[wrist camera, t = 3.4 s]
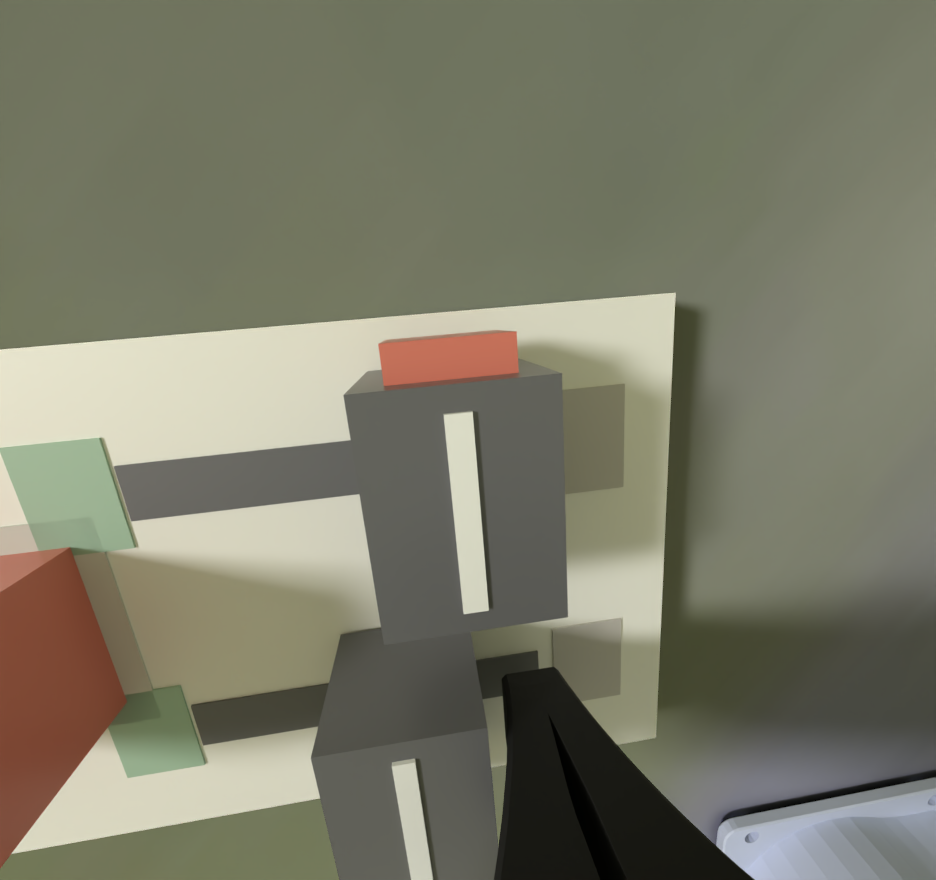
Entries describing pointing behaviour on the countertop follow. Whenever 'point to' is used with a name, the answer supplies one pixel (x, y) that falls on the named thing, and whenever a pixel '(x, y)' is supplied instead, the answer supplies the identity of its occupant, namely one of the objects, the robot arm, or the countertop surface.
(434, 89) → the countertop surface
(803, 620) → the countertop surface
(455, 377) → the breaker
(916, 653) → the countertop surface
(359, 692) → the block
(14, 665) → the cap
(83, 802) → the board
